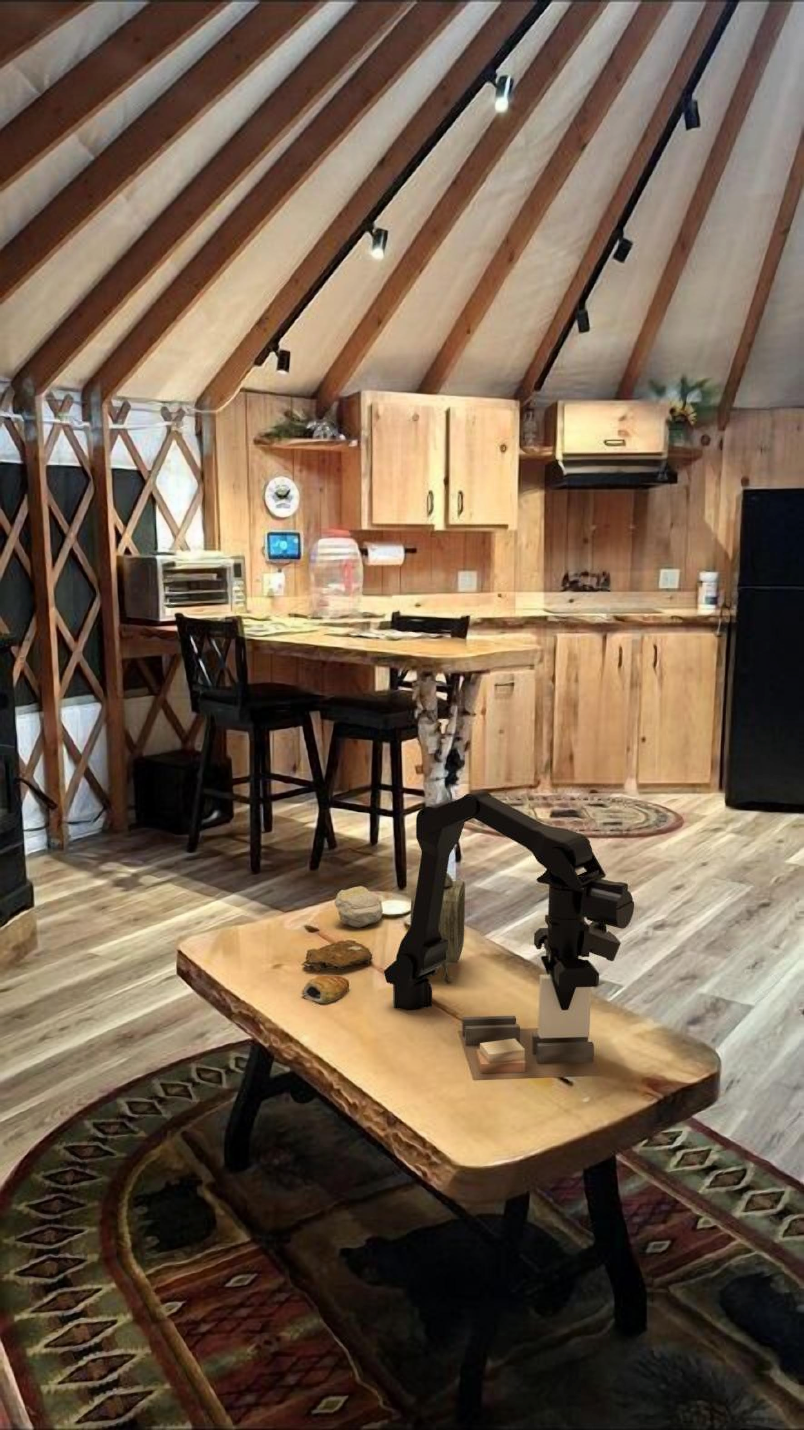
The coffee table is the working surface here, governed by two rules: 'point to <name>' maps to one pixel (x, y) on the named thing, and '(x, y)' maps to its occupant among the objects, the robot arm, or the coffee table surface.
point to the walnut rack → (527, 1049)
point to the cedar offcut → (499, 1065)
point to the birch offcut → (502, 1051)
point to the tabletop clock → (451, 921)
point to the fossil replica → (358, 907)
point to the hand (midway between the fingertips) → (563, 1007)
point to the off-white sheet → (563, 1012)
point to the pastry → (325, 988)
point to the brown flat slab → (337, 956)
